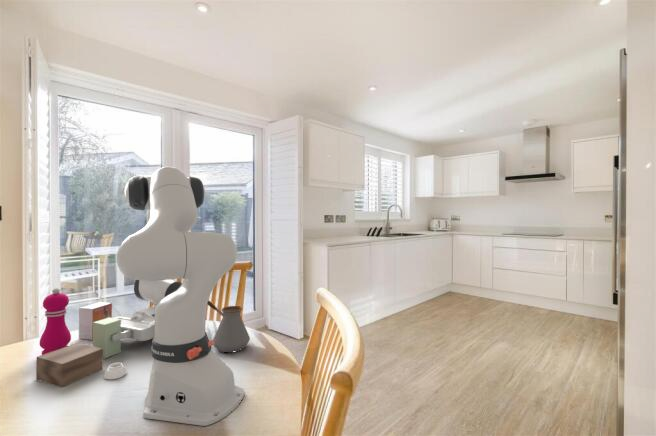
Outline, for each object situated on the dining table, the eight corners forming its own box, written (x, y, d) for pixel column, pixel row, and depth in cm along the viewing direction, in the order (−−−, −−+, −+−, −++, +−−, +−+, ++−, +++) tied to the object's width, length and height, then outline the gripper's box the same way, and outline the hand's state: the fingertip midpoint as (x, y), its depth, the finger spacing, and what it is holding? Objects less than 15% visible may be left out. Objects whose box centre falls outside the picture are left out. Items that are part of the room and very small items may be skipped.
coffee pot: (257, 346, 108) (257, 300, 107) (230, 359, 98) (231, 309, 97) (212, 333, 118) (212, 291, 118) (184, 343, 108) (184, 298, 108)
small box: (91, 340, 109) (92, 309, 109) (78, 338, 110) (78, 307, 110) (112, 332, 117) (112, 302, 117) (99, 330, 118) (99, 301, 118)
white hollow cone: (130, 372, 89) (114, 370, 90) (131, 361, 89) (114, 360, 89) (116, 381, 84) (99, 379, 85) (116, 370, 84) (99, 368, 85)
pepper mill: (32, 358, 95) (33, 290, 95) (58, 348, 102) (59, 284, 102) (52, 361, 93) (52, 291, 93) (76, 351, 100) (77, 286, 100)
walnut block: (102, 370, 90) (102, 348, 90) (62, 388, 80) (62, 363, 80) (77, 363, 93) (78, 342, 93) (36, 380, 84) (36, 356, 84)
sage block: (120, 351, 101) (121, 319, 100) (104, 358, 96) (104, 324, 96) (109, 349, 102) (109, 317, 102) (92, 355, 98) (93, 322, 97)
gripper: (122, 309, 115) (80, 321, 102) (167, 317, 108) (128, 330, 95) (122, 327, 115) (80, 341, 102) (167, 336, 108) (128, 352, 95)
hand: (104, 336), depth 98 cm, fingers closed on sage block, 5 cm apart
